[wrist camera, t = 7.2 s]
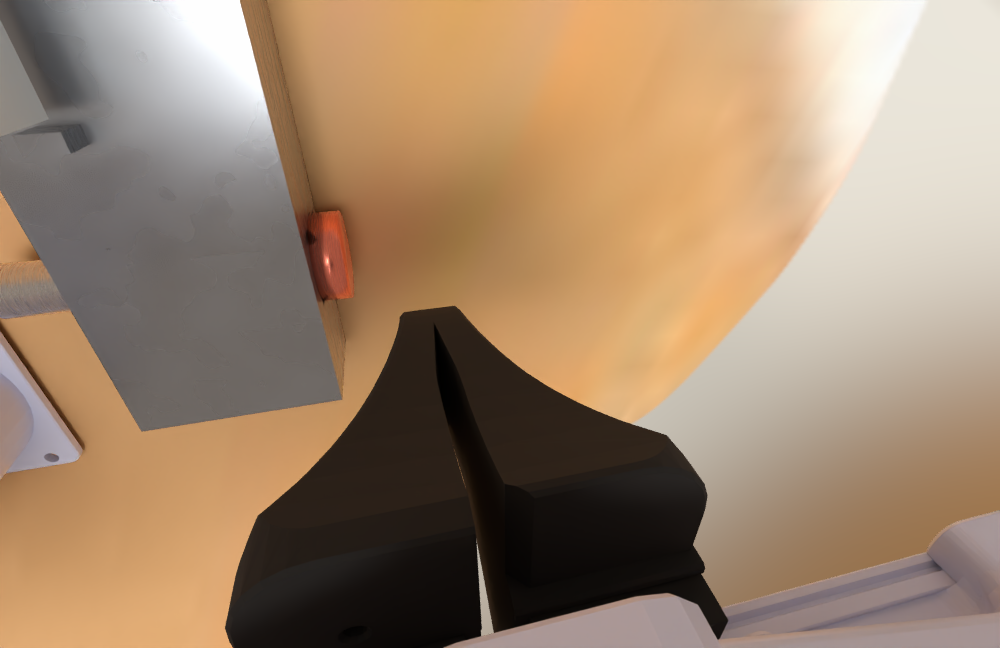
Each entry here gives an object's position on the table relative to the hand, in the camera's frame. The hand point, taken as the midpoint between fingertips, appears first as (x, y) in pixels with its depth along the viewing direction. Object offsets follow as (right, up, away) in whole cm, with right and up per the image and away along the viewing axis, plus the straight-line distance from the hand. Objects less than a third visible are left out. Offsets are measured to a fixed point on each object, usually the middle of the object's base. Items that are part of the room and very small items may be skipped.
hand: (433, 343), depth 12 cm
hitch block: (-9, +7, +5) cm, 12 cm away
